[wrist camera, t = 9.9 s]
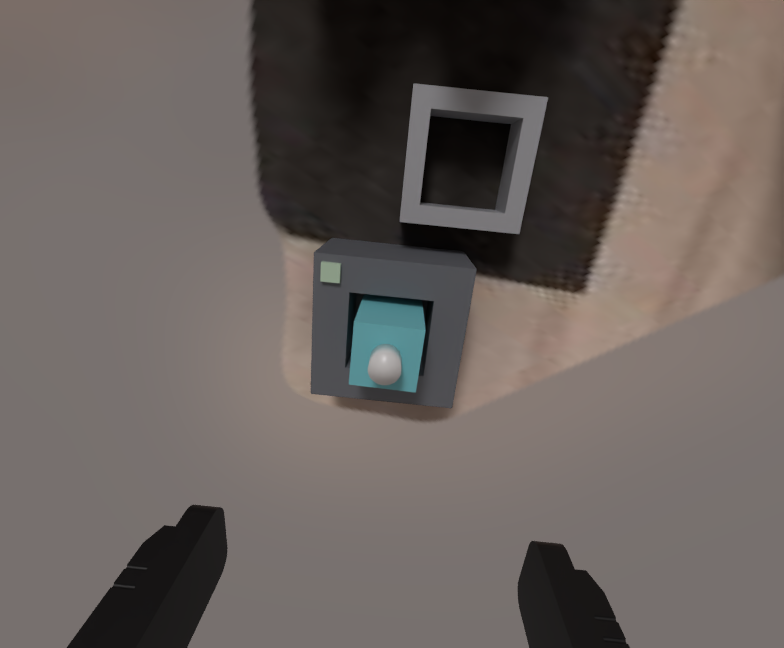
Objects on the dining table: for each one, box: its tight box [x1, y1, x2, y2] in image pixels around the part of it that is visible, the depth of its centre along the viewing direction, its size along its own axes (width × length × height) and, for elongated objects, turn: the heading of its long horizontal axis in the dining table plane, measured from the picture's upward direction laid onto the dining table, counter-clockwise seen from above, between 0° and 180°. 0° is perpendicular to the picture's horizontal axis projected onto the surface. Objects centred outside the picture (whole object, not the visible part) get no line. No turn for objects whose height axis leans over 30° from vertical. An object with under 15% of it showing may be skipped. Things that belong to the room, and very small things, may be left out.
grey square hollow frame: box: [400, 83, 548, 234], centre depth 26 cm, size 8×8×3 cm
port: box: [311, 238, 477, 408], centre depth 28 cm, size 10×10×6 cm
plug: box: [349, 294, 426, 392], centre depth 25 cm, size 4×4×10 cm
